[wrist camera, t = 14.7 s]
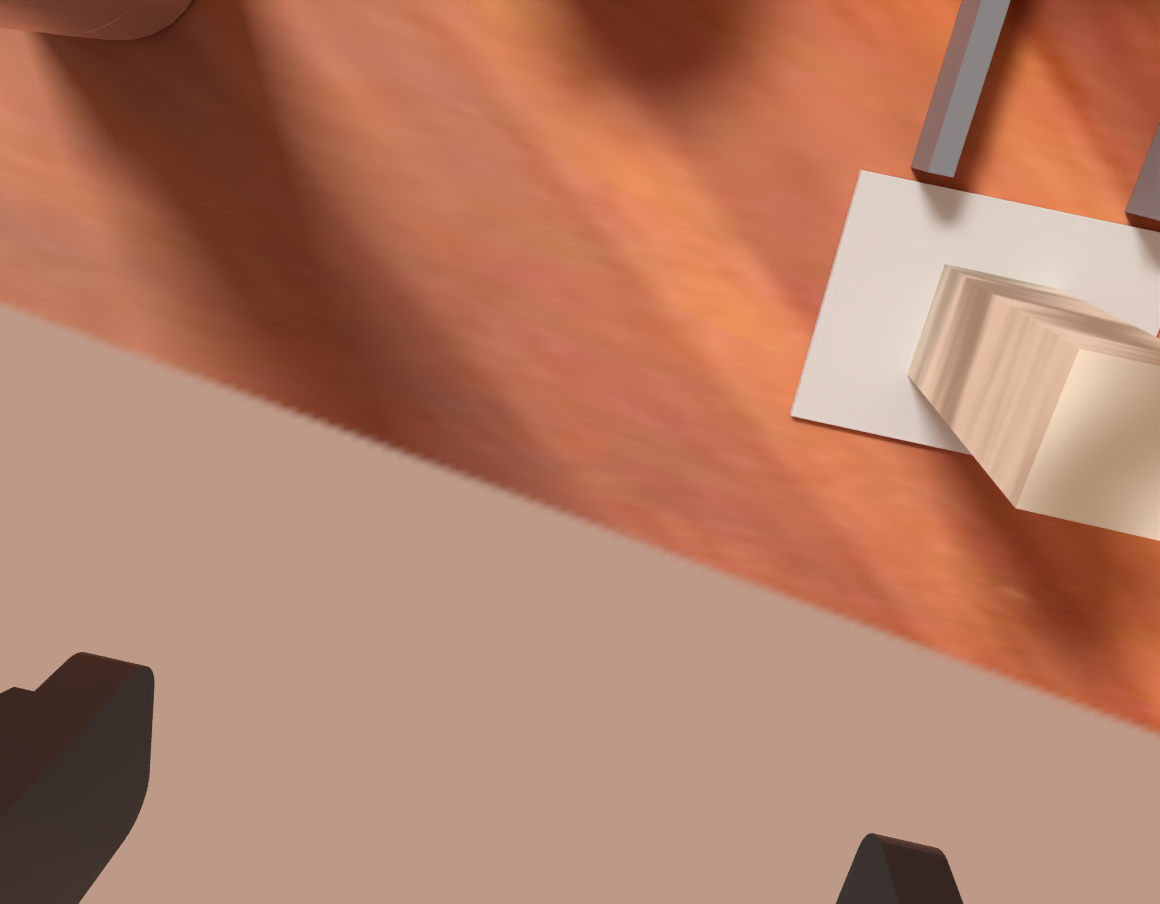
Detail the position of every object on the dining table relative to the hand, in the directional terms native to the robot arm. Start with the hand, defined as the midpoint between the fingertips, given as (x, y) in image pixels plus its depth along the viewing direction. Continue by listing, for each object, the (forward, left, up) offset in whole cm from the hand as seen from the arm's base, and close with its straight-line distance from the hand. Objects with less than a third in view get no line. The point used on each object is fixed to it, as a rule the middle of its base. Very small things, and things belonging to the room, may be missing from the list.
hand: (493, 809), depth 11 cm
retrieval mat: (+15, +1, -34) cm, 38 cm away
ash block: (+15, +1, -34) cm, 37 cm away
